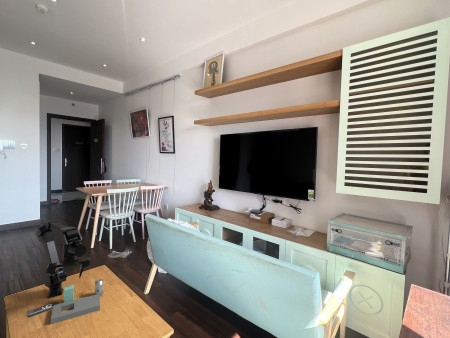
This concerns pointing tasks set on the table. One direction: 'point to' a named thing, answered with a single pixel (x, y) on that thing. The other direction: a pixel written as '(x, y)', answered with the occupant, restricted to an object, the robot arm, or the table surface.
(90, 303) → the plate
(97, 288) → the round peg
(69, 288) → the square peg
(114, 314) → the table surface
